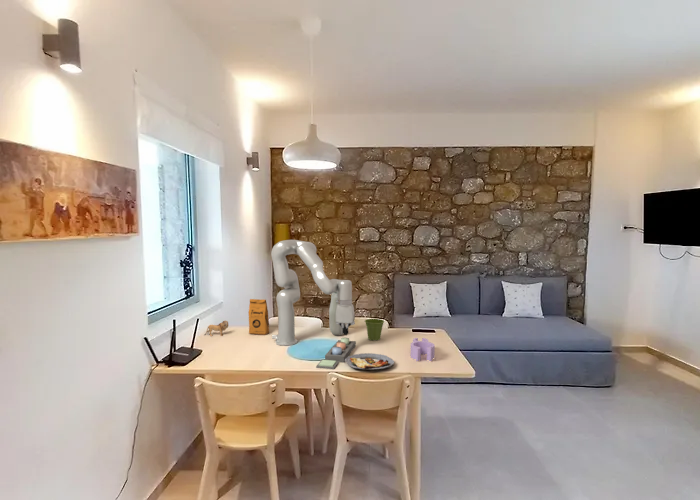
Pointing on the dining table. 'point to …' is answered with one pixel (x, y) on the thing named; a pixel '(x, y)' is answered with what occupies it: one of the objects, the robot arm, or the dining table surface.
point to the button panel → (344, 352)
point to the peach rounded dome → (342, 345)
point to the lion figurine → (217, 328)
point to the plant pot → (374, 328)
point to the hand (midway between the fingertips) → (345, 334)
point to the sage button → (345, 340)
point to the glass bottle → (334, 316)
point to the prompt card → (327, 364)
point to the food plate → (369, 361)
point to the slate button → (337, 351)
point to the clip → (422, 349)
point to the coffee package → (258, 317)
